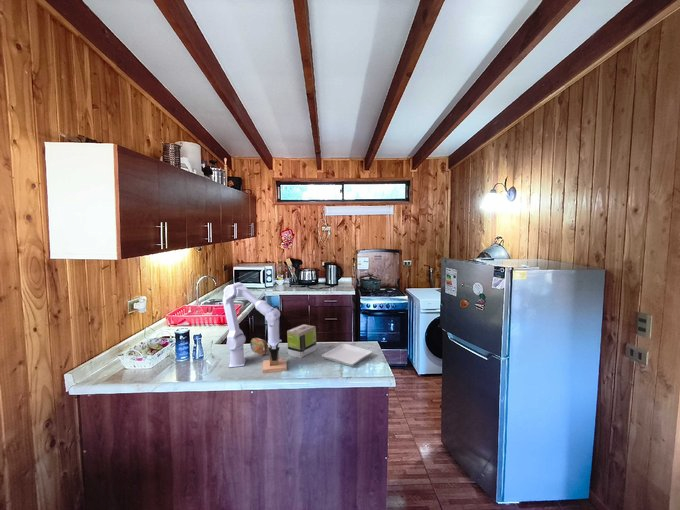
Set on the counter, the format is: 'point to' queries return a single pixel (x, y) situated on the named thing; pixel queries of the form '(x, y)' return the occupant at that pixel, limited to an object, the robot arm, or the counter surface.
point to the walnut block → (274, 363)
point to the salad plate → (347, 354)
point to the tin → (259, 346)
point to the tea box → (301, 340)
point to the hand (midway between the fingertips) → (274, 357)
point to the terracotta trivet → (277, 368)
